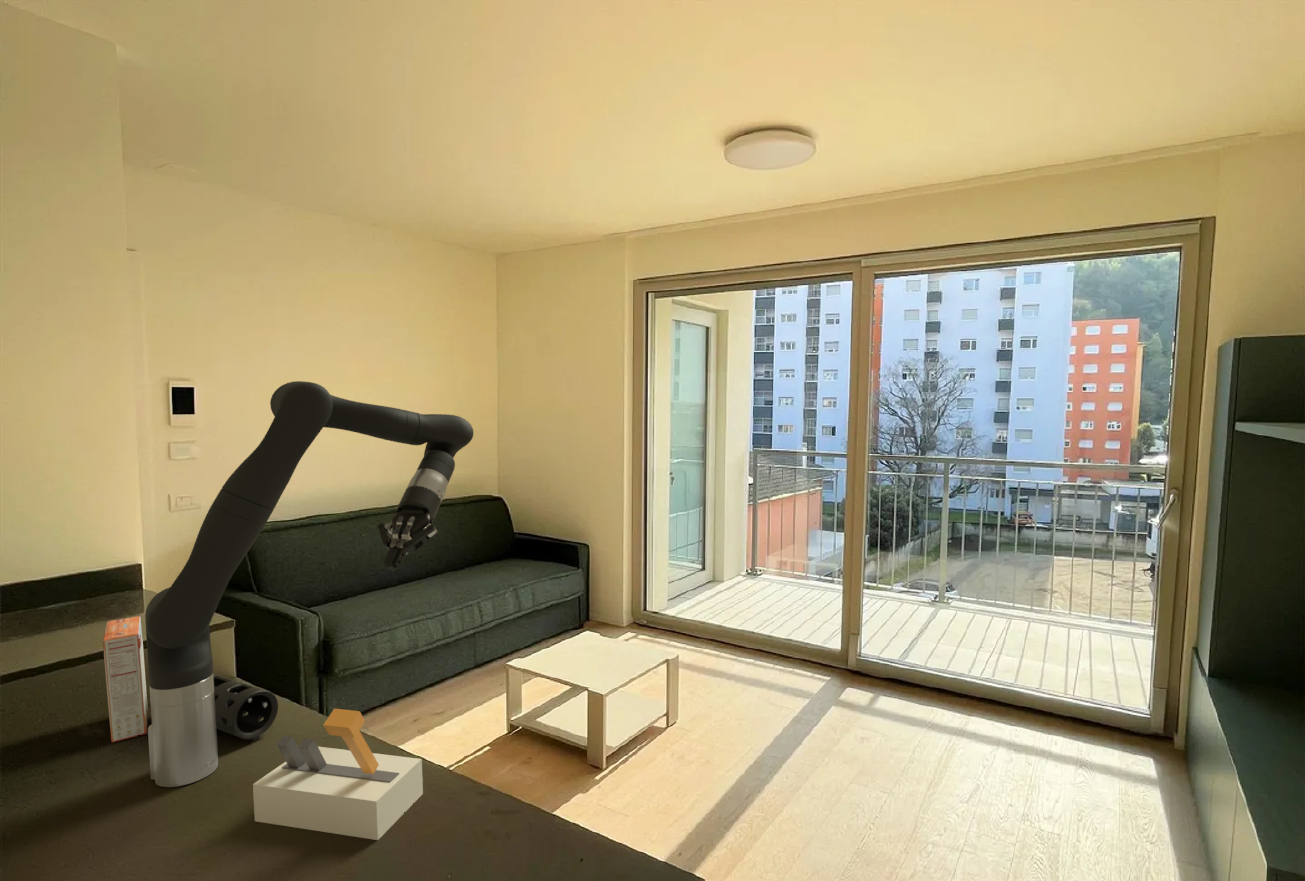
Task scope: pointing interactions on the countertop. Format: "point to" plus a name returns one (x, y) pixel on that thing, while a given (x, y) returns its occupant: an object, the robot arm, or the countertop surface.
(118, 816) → the countertop surface
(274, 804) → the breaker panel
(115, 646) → the cracker box
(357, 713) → the lever
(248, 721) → the muzzle brake
